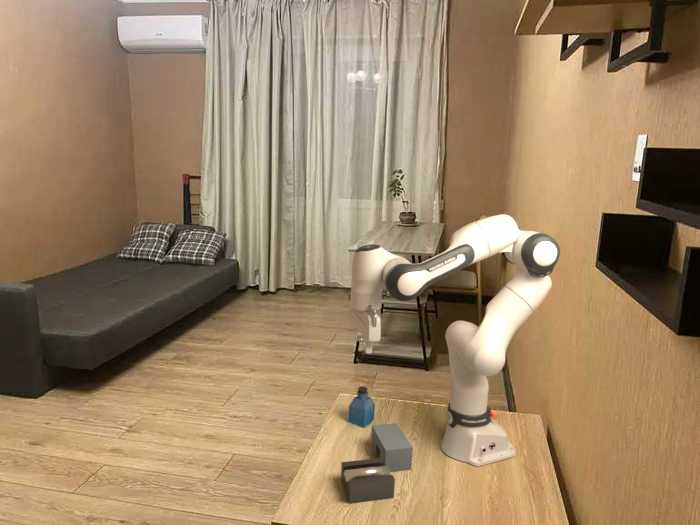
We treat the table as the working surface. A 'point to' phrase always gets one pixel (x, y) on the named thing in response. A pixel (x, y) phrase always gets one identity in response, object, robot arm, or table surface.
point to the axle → (366, 472)
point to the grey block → (392, 446)
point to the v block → (367, 482)
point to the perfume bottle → (361, 409)
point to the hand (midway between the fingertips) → (363, 346)
